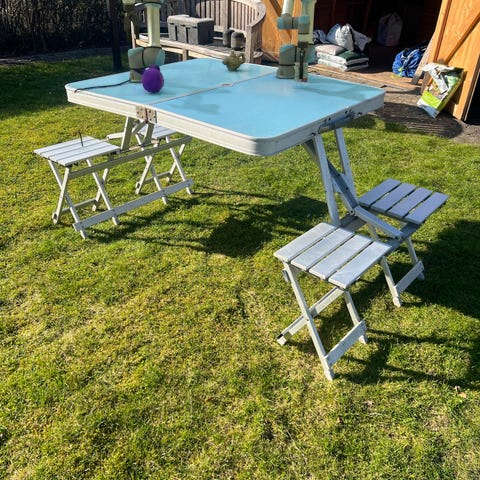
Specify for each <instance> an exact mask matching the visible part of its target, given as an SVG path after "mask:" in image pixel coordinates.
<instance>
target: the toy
mask: <svg viewBox="0 0 480 480" xmlns="http://www.w3.org/2000/svg"><path fill="white" fill-rule="evenodd" d="M134 71H135V72H137V73H139V74H141V75H143V76H142V83H141V85H142V87H143V89H144V90H145V91H146V92H147V93H151V94H157V93H159V92H160V91H161V90H162V89H163V87H164V86H165V78H164V75H163V72H161V66H158V65H154V66H148V68H146V70H134Z"/></svg>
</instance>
